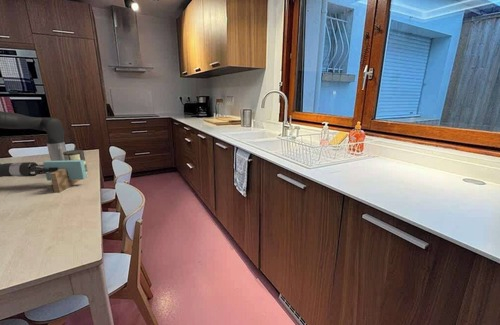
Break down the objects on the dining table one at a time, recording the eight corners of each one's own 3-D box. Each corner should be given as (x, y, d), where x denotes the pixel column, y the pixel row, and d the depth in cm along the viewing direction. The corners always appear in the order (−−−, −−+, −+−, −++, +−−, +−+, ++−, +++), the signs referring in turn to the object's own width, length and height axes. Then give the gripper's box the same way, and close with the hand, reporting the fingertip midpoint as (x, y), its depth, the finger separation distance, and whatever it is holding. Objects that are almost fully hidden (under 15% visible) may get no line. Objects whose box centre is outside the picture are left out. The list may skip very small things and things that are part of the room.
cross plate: (51, 178, 129) (47, 160, 126) (86, 177, 131) (83, 160, 128) (47, 180, 126) (42, 162, 123) (83, 179, 128) (80, 161, 125)
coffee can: (81, 170, 156) (77, 149, 152) (91, 172, 151) (87, 150, 147) (64, 174, 147) (58, 152, 143) (74, 177, 142) (69, 154, 139)
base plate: (77, 179, 139) (74, 162, 136) (82, 178, 139) (78, 162, 137) (54, 192, 120) (49, 173, 117) (59, 192, 120) (55, 173, 117)
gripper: (11, 166, 117) (49, 165, 119) (32, 159, 130) (66, 158, 132) (15, 180, 119) (52, 179, 121) (36, 172, 132) (69, 171, 134)
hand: (59, 168), depth 127 cm, fingers closed on cross plate, 3 cm apart
